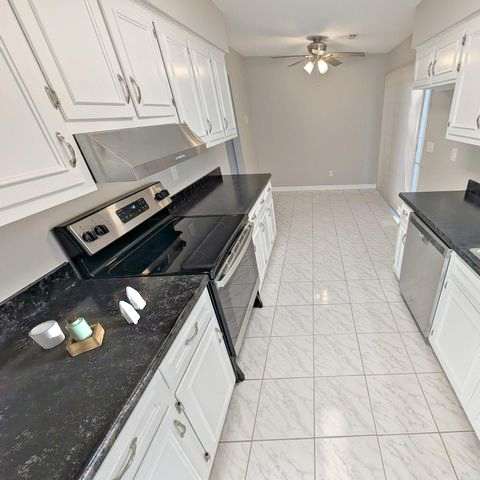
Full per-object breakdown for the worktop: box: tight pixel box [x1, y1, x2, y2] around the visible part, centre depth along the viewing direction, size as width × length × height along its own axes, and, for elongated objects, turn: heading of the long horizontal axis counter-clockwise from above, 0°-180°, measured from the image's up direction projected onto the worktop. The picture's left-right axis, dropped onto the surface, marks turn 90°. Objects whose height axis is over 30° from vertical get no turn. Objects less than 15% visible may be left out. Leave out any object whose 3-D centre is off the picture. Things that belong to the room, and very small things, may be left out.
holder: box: [65, 322, 105, 357], centre depth 85 cm, size 8×8×4 cm
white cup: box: [28, 320, 66, 350], centre depth 86 cm, size 7×7×7 cm
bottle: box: [64, 313, 93, 342], centre depth 83 cm, size 5×5×12 cm
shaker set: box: [118, 286, 146, 325], centre depth 95 cm, size 12×4×11 cm, turn 12°
